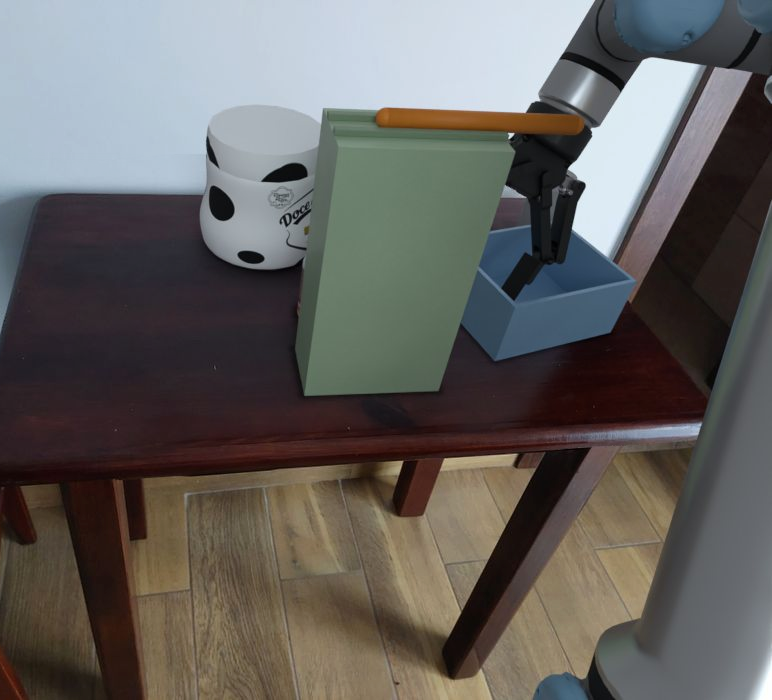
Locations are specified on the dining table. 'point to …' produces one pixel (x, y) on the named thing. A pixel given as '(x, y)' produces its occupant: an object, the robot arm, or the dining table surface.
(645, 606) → the robot arm
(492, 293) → the bin
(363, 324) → the stand
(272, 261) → the doce de leite jar
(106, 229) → the dining table surface
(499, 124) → the orange round-ended rod
